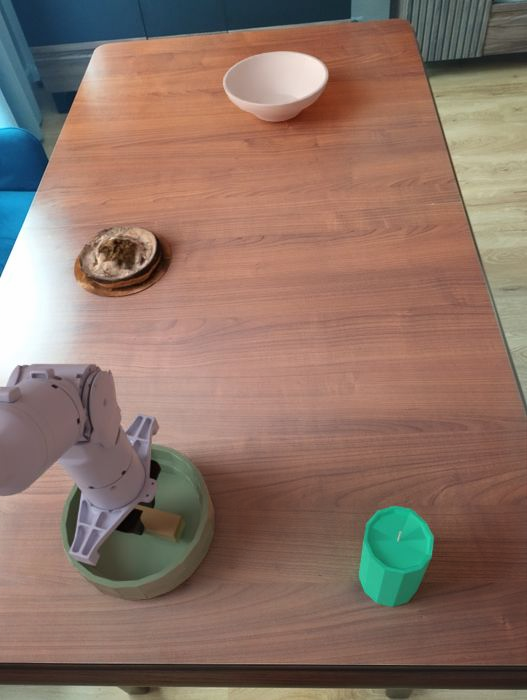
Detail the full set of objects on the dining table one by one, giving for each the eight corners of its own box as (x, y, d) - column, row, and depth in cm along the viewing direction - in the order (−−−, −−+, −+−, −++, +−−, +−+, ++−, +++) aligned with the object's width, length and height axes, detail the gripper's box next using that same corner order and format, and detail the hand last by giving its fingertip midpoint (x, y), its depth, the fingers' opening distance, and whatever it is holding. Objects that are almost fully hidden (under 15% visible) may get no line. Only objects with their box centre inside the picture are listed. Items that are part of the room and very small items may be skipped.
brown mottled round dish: (187, 241, 92) (182, 220, 89) (138, 308, 84) (130, 288, 81) (110, 221, 97) (102, 201, 93) (56, 283, 89) (45, 263, 85)
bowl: (207, 119, 113) (201, 85, 108) (271, 75, 121) (269, 42, 116) (284, 152, 104) (282, 117, 99) (348, 102, 113) (350, 67, 107)
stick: (178, 543, 61) (173, 536, 59) (102, 522, 63) (95, 514, 61) (185, 523, 62) (181, 515, 60) (111, 503, 64) (105, 495, 63)
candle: (382, 619, 56) (394, 582, 47) (346, 565, 60) (350, 520, 50) (432, 585, 58) (452, 543, 48) (394, 534, 61) (406, 486, 52)
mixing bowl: (184, 620, 58) (174, 607, 54) (51, 577, 61) (32, 562, 57) (234, 481, 66) (228, 461, 62) (114, 452, 70) (102, 431, 66)
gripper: (104, 551, 46) (146, 598, 56) (174, 399, 54) (199, 465, 65) (27, 528, 47) (82, 578, 58) (106, 384, 56) (141, 451, 66)
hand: (139, 518), depth 62 cm, fingers closed on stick, 2 cm apart
